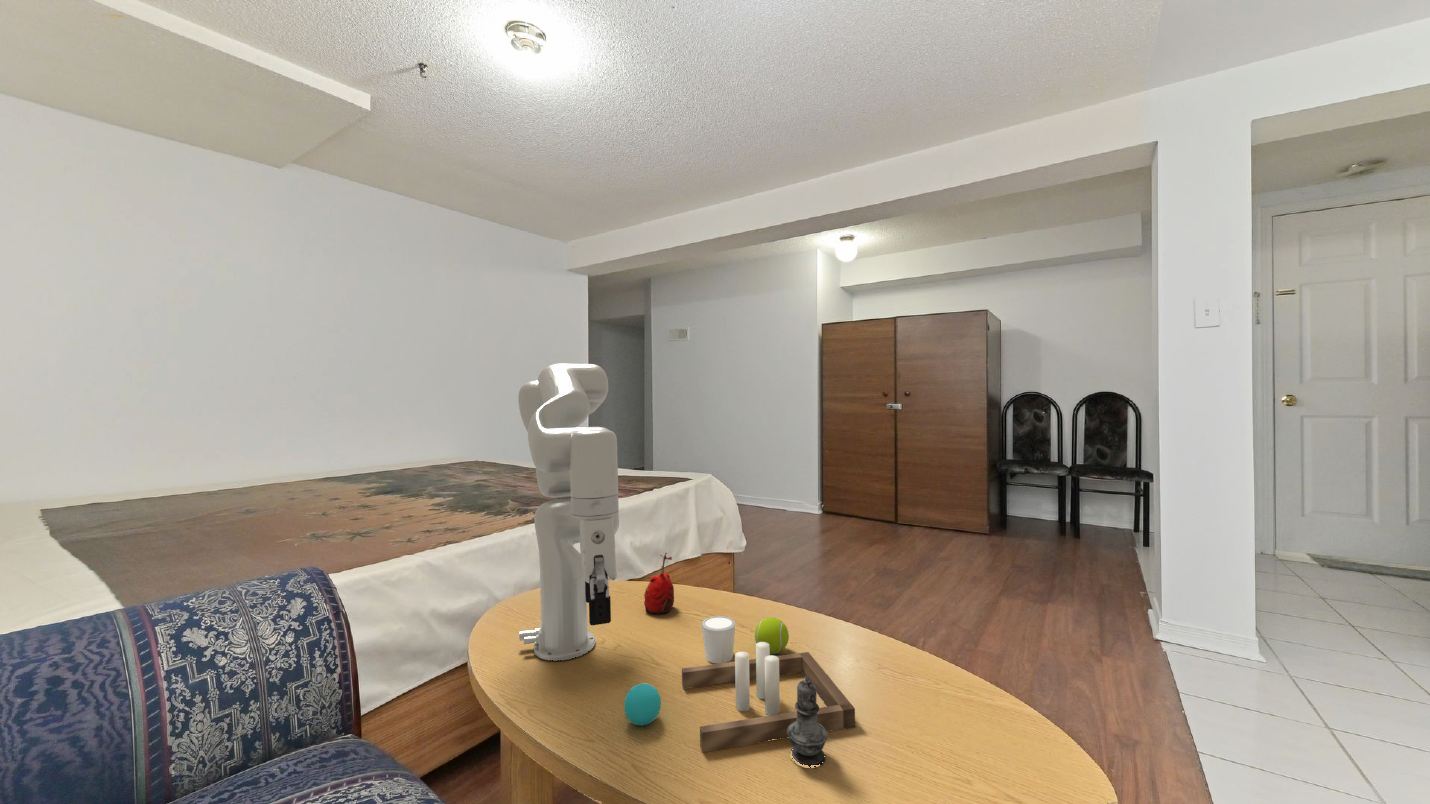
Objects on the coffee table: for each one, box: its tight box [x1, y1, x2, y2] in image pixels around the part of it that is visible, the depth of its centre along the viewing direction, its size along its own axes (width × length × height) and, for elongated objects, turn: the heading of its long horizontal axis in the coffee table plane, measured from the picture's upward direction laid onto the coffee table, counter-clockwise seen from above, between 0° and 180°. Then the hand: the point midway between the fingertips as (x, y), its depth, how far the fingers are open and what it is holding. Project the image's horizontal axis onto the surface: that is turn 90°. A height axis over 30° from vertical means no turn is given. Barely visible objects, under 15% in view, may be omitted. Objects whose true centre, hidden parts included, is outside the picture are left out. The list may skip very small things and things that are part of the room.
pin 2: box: [764, 654, 781, 716], centre depth 89 cm, size 2×2×9 cm
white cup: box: [701, 615, 736, 664], centre depth 108 cm, size 7×7×7 cm
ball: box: [623, 682, 662, 726], centre depth 87 cm, size 6×6×6 cm
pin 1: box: [755, 642, 771, 700], centre depth 94 cm, size 2×2×9 cm
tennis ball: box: [754, 616, 790, 655], centre depth 109 cm, size 7×7×7 cm
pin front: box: [734, 651, 751, 712], centre depth 90 cm, size 2×2×9 cm
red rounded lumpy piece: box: [643, 552, 675, 615], centre depth 131 cm, size 8×7×15 cm
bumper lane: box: [681, 651, 856, 753], centre depth 91 cm, size 25×19×3 cm
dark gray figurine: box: [787, 676, 829, 768], centre depth 78 cm, size 6×6×12 cm
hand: (597, 611), depth 86 cm, fingers open, 9 cm apart
